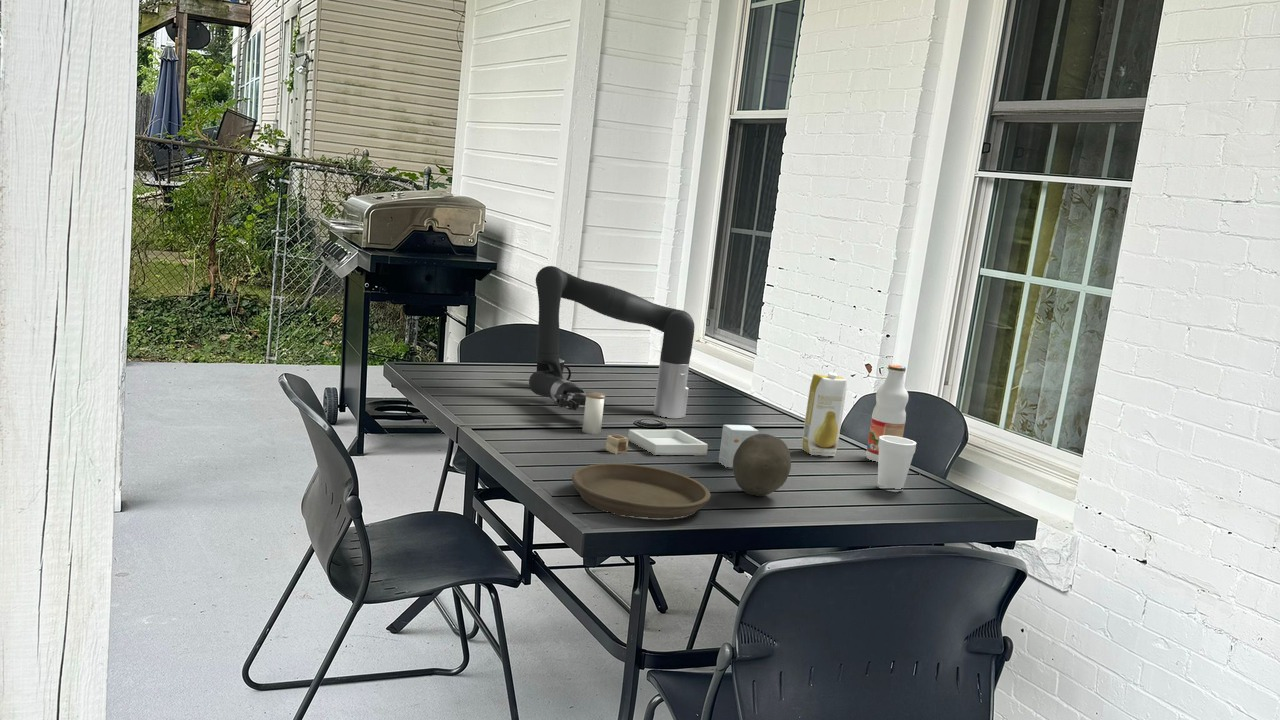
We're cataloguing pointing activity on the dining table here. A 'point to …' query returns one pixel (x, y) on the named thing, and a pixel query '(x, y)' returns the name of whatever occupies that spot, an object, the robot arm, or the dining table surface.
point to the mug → (546, 368)
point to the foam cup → (894, 460)
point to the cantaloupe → (761, 464)
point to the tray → (667, 442)
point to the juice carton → (824, 414)
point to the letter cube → (617, 444)
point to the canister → (593, 412)
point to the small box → (733, 441)
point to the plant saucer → (639, 490)
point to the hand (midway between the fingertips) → (589, 407)
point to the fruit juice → (888, 410)
